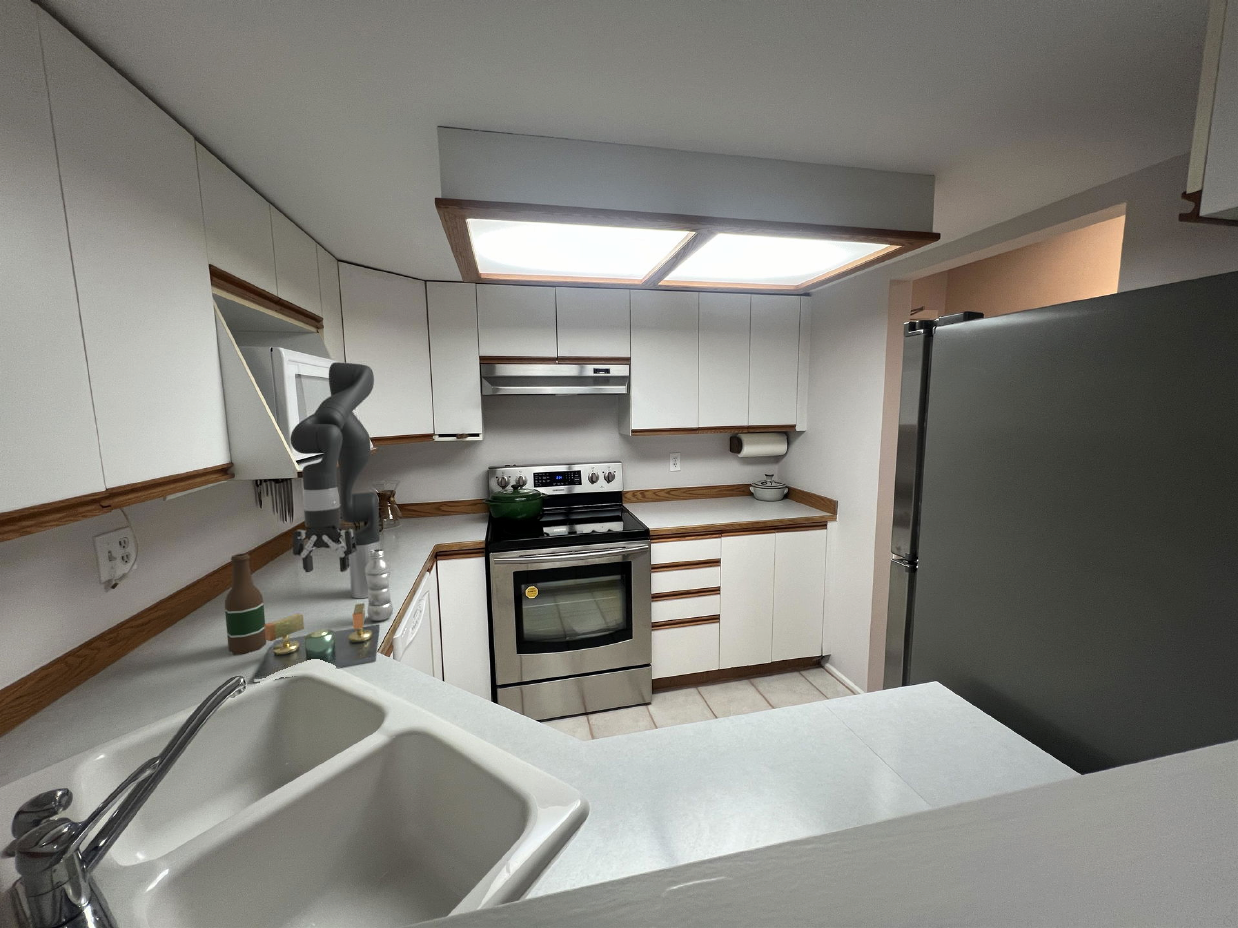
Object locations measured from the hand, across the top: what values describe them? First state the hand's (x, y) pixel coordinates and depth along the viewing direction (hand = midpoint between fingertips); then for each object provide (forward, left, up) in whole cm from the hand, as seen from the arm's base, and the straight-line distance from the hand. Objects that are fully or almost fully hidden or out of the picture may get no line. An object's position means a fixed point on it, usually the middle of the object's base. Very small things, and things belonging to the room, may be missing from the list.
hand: (326, 571), depth 124 cm
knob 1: (0, -10, -18) cm, 21 cm away
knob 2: (0, +6, -18) cm, 19 cm away
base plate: (+2, -2, -20) cm, 20 cm away
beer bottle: (-9, -20, -20) cm, 29 cm away
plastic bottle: (-15, +10, -20) cm, 27 cm away
